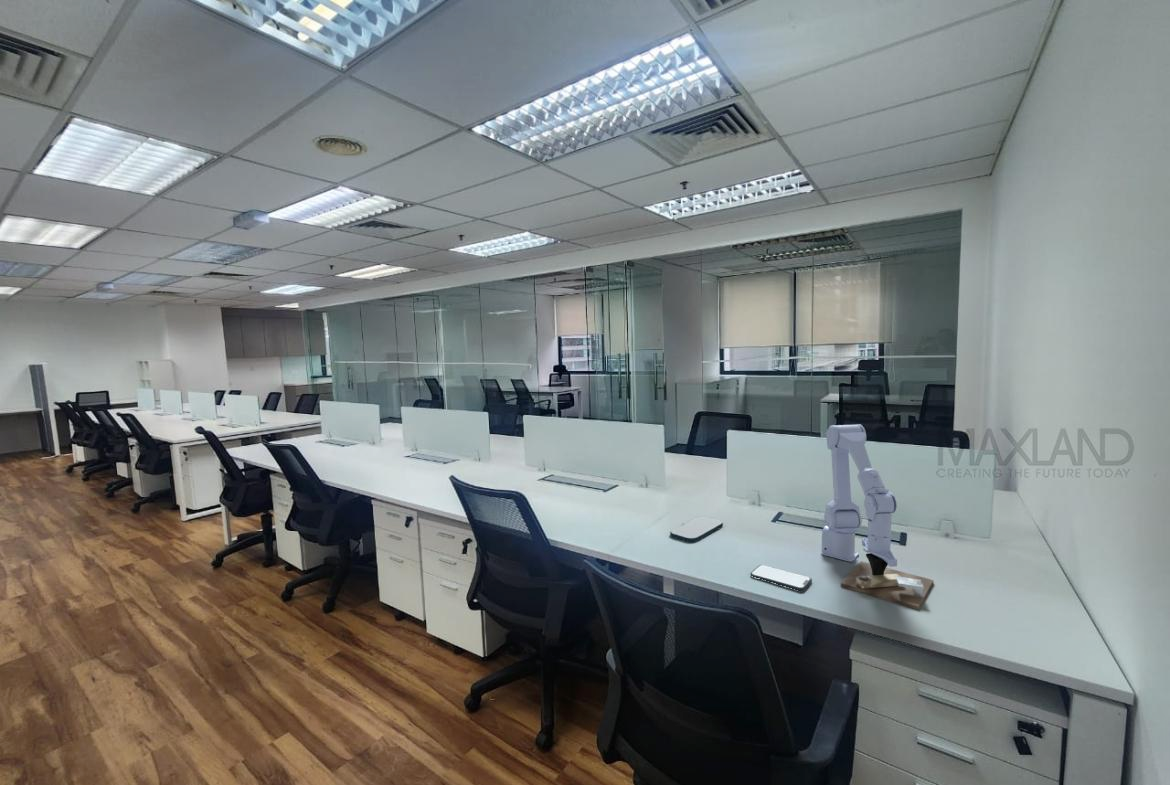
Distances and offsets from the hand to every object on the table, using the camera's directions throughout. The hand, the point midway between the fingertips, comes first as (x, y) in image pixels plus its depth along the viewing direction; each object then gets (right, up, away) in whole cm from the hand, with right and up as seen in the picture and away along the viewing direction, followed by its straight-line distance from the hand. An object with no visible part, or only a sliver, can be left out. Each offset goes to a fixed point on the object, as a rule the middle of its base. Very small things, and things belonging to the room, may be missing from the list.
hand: (877, 579), depth 141 cm
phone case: (-26, -3, +6) cm, 27 cm away
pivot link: (-1, -1, -2) cm, 2 cm away
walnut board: (+3, -2, 0) cm, 3 cm away
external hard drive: (-42, 0, +46) cm, 62 cm away
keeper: (+4, -1, -7) cm, 8 cm away
